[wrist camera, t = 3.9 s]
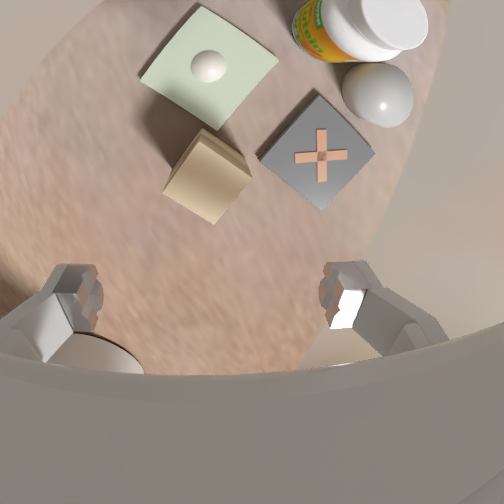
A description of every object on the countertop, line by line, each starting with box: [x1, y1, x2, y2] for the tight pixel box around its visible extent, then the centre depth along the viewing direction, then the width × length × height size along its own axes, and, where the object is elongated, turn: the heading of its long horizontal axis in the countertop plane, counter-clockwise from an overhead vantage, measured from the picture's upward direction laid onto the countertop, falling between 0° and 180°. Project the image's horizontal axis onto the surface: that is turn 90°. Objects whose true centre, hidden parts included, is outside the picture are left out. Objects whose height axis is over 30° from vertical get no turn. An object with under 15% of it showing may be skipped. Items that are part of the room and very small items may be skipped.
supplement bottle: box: [292, 0, 428, 62], centre depth 12 cm, size 5×5×10 cm
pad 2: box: [259, 95, 375, 211], centre depth 22 cm, size 7×7×1 cm
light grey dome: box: [342, 63, 414, 127], centre depth 18 cm, size 5×5×3 cm
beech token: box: [163, 128, 252, 224], centre depth 19 cm, size 4×4×5 cm
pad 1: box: [140, 6, 279, 131], centre depth 17 cm, size 7×7×1 cm
